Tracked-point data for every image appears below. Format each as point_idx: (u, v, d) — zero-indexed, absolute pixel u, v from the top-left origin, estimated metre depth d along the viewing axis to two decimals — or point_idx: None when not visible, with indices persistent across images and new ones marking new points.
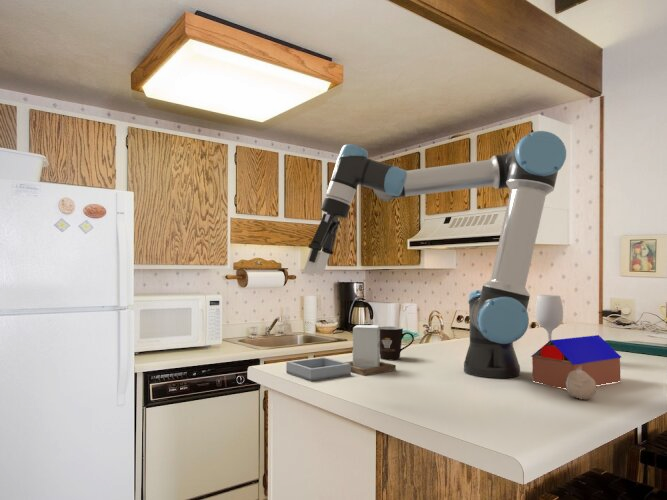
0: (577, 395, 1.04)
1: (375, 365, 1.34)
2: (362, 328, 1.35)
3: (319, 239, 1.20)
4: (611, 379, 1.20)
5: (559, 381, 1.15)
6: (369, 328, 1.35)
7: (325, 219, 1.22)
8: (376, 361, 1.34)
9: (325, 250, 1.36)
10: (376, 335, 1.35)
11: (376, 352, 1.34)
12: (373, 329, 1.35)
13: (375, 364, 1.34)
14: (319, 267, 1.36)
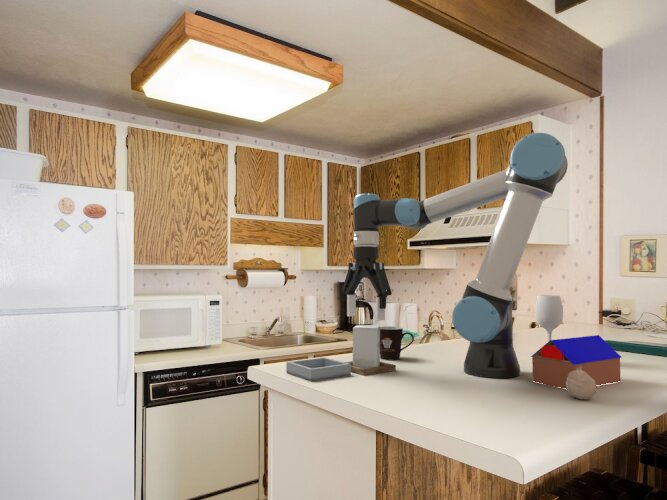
0: (577, 395, 1.04)
1: (375, 365, 1.34)
2: (362, 328, 1.35)
3: (387, 287, 1.32)
4: (611, 379, 1.20)
5: (559, 381, 1.15)
6: (369, 328, 1.35)
7: (380, 267, 1.34)
8: (376, 361, 1.34)
9: (350, 292, 1.45)
10: (376, 335, 1.35)
11: (376, 352, 1.34)
12: (373, 329, 1.35)
13: (375, 364, 1.34)
14: (351, 309, 1.44)
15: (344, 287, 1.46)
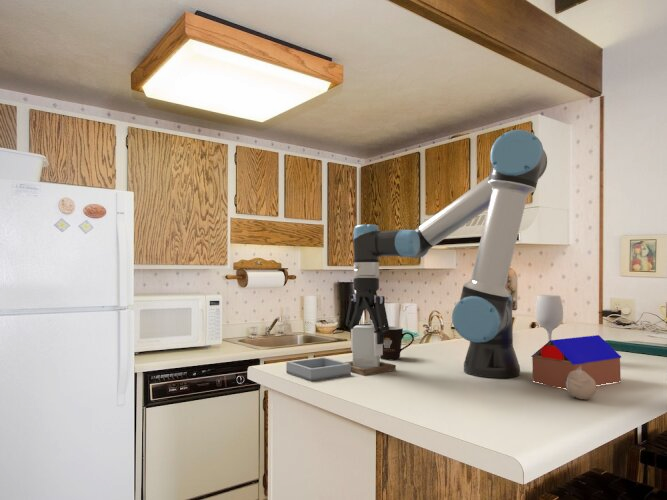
0: (577, 395, 1.04)
1: (375, 365, 1.34)
2: (362, 328, 1.35)
3: (385, 322, 1.32)
4: (611, 379, 1.20)
5: (559, 381, 1.15)
6: (369, 328, 1.35)
7: (380, 301, 1.33)
8: (376, 361, 1.34)
9: (354, 326, 1.43)
10: None
11: None
12: (373, 329, 1.35)
13: (375, 364, 1.34)
14: None
15: (347, 320, 1.44)
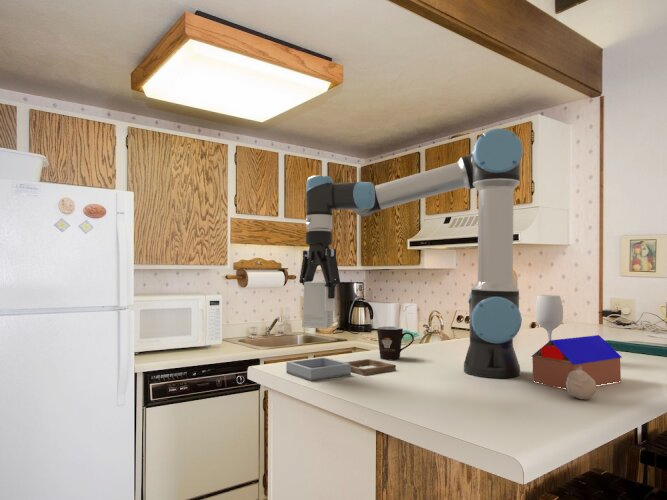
0: (577, 395, 1.04)
1: (325, 322, 1.29)
2: (313, 283, 1.30)
3: (336, 275, 1.27)
4: (611, 379, 1.19)
5: (559, 381, 1.15)
6: (321, 283, 1.30)
7: (331, 254, 1.28)
8: (326, 317, 1.29)
9: None
10: None
11: None
12: (324, 284, 1.29)
13: (325, 321, 1.29)
14: None
15: (301, 277, 1.39)
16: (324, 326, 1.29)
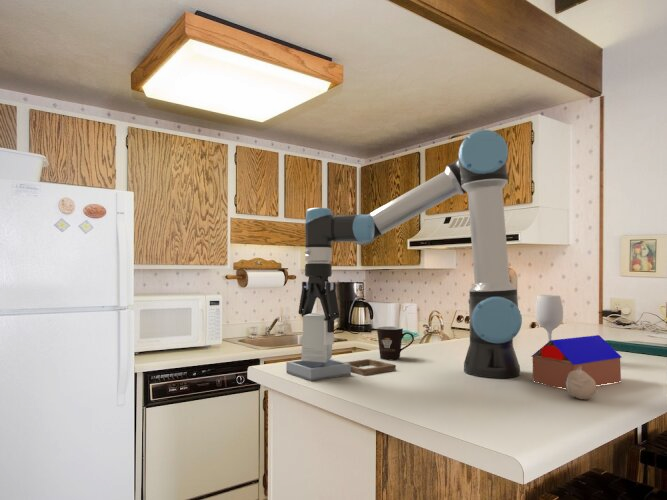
0: (577, 395, 1.04)
1: (324, 355, 1.28)
2: (313, 316, 1.29)
3: (336, 310, 1.26)
4: (611, 379, 1.19)
5: (559, 381, 1.15)
6: (320, 317, 1.29)
7: (331, 288, 1.27)
8: (325, 351, 1.28)
9: (306, 314, 1.37)
10: None
11: None
12: (324, 318, 1.29)
13: (324, 354, 1.28)
14: None
15: (300, 308, 1.38)
16: (323, 360, 1.28)
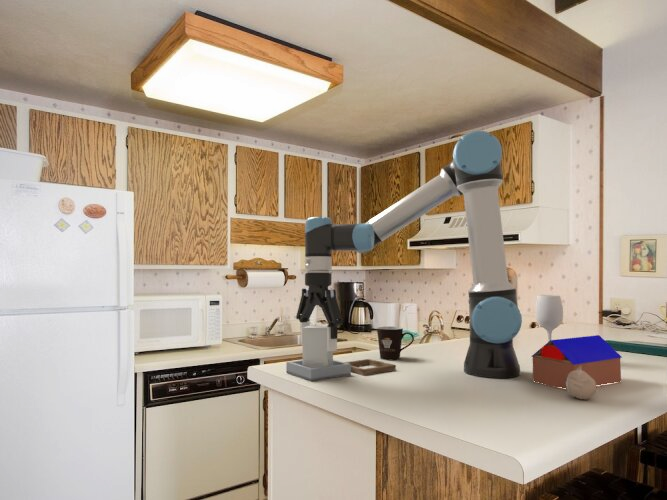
0: (577, 395, 1.04)
1: None
2: (312, 328, 1.29)
3: (338, 316, 1.25)
4: (611, 379, 1.19)
5: (559, 381, 1.15)
6: (319, 328, 1.29)
7: (331, 295, 1.27)
8: (326, 363, 1.28)
9: (304, 320, 1.38)
10: (326, 336, 1.28)
11: (326, 354, 1.28)
12: (323, 329, 1.29)
13: (325, 366, 1.28)
14: None
15: (298, 314, 1.39)
16: None
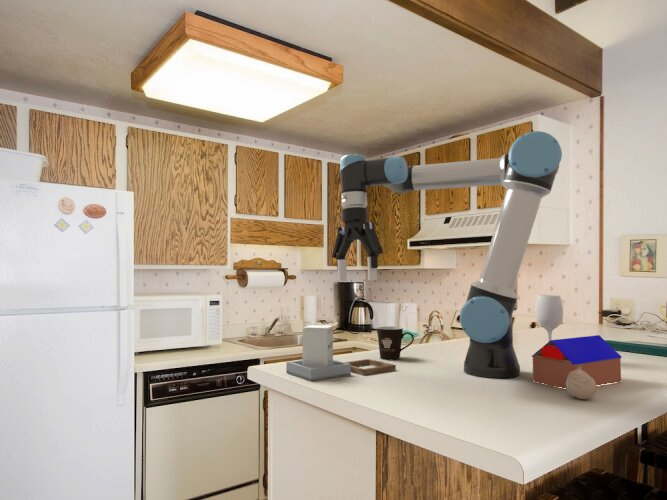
0: (577, 395, 1.04)
1: None
2: (312, 328, 1.29)
3: (378, 245, 1.30)
4: (612, 379, 1.19)
5: (559, 381, 1.15)
6: (319, 328, 1.29)
7: (370, 226, 1.32)
8: (326, 363, 1.28)
9: (340, 257, 1.43)
10: (326, 336, 1.28)
11: (326, 354, 1.28)
12: (323, 329, 1.29)
13: (325, 366, 1.28)
14: (342, 274, 1.42)
15: (334, 252, 1.43)
16: None
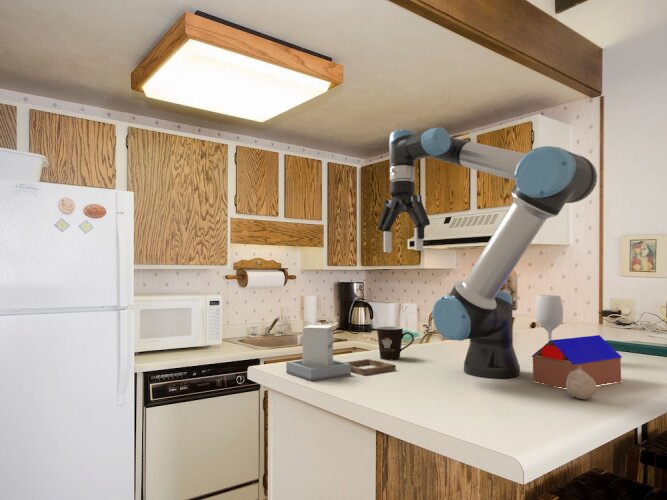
0: (577, 395, 1.04)
1: None
2: (312, 328, 1.29)
3: (426, 217, 1.36)
4: (612, 379, 1.19)
5: (559, 381, 1.15)
6: (319, 328, 1.29)
7: (417, 199, 1.38)
8: (326, 363, 1.28)
9: (386, 229, 1.49)
10: (326, 336, 1.28)
11: (326, 354, 1.28)
12: (323, 329, 1.29)
13: (325, 366, 1.28)
14: (388, 245, 1.48)
15: (380, 224, 1.50)
16: None
